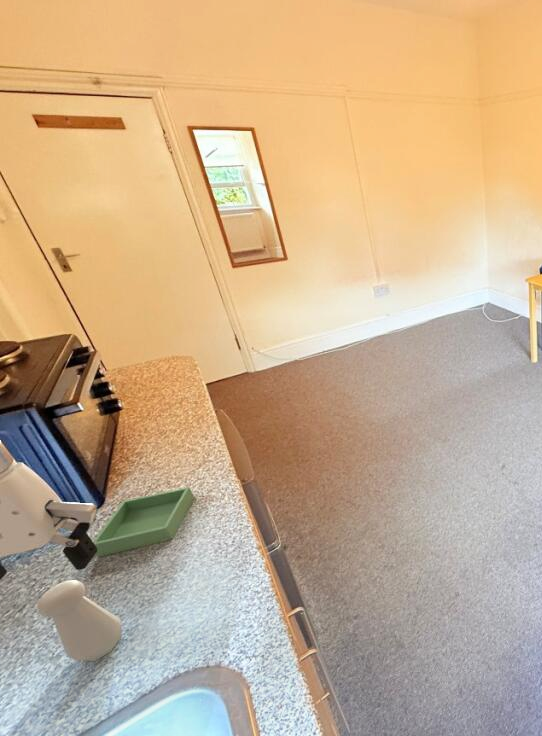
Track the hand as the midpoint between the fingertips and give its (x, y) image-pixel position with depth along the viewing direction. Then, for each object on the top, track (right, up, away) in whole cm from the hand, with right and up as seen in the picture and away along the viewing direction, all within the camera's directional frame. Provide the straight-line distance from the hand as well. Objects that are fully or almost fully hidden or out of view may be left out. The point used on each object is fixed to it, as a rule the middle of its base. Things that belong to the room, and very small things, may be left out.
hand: (42, 571), depth 52 cm
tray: (-11, -6, +28) cm, 30 cm away
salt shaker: (0, -16, +7) cm, 17 cm away
